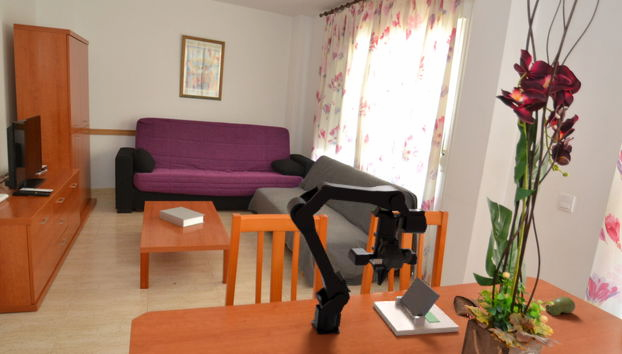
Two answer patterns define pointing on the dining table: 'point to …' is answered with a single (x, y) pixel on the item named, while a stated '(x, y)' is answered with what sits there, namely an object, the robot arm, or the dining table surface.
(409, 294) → the dark grey square panel
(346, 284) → the robot arm
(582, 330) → the dining table surface
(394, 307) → the pivot board
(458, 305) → the sunglasses case
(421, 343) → the dining table surface
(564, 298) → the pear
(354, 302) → the dining table surface
